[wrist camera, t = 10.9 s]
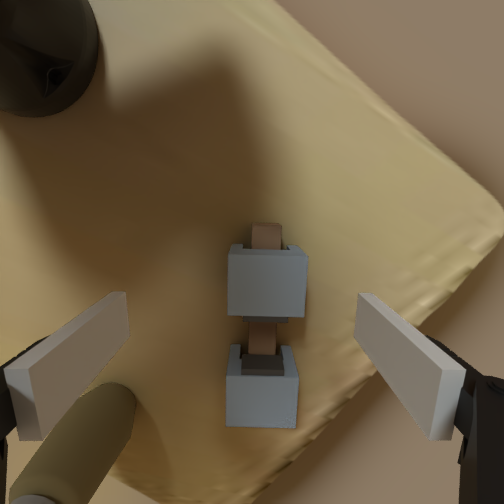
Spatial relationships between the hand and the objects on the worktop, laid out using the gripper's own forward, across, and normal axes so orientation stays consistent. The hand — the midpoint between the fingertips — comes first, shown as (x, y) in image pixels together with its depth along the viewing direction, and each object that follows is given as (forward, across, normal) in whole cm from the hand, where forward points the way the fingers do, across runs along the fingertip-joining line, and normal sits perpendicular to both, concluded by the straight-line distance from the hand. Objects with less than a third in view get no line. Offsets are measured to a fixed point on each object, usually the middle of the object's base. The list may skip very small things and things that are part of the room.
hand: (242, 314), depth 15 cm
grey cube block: (+16, +2, -2) cm, 16 cm away
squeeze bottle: (+16, -17, -20) cm, 31 cm away
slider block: (+15, +2, -15) cm, 21 cm away
